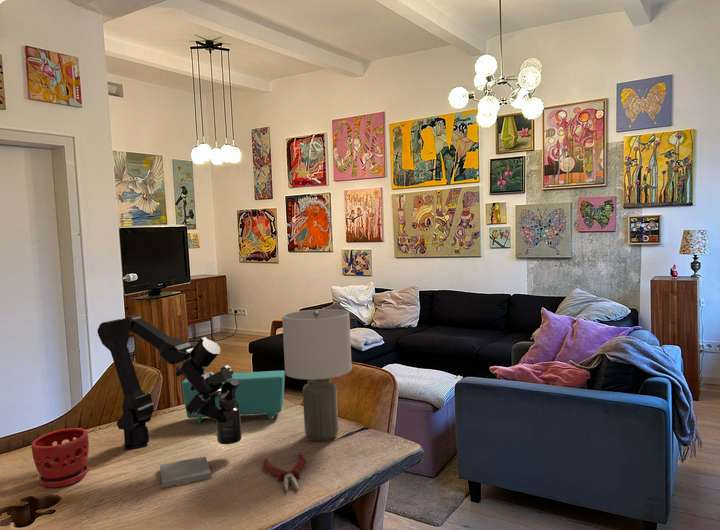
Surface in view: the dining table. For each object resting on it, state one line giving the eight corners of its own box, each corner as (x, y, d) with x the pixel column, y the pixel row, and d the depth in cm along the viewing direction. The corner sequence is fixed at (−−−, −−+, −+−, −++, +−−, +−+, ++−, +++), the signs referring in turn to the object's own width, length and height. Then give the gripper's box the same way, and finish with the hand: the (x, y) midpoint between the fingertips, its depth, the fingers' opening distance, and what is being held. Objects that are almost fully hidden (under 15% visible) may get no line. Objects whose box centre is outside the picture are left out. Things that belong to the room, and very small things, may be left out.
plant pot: (53, 470, 153) (50, 428, 152) (100, 469, 152) (97, 426, 152) (23, 492, 140) (19, 446, 139) (74, 491, 139) (70, 444, 139)
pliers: (268, 499, 131) (268, 488, 131) (262, 466, 150) (261, 456, 150) (316, 492, 134) (315, 481, 134) (303, 460, 153) (303, 451, 153)
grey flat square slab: (162, 488, 138) (162, 482, 138) (160, 470, 150) (160, 464, 149) (211, 478, 143) (211, 472, 143) (205, 461, 154) (205, 456, 154)
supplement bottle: (246, 437, 158) (244, 396, 157) (231, 446, 152) (229, 403, 151) (227, 435, 161) (225, 394, 160) (212, 443, 155) (210, 401, 154)
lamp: (367, 437, 167) (362, 310, 164) (308, 455, 155) (302, 318, 153) (332, 420, 183) (327, 305, 181) (277, 435, 172) (270, 312, 170)
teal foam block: (287, 410, 197) (285, 369, 196) (284, 420, 186) (282, 376, 186) (191, 416, 195) (188, 374, 194) (183, 426, 185) (180, 382, 184)
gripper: (192, 366, 148) (229, 410, 145) (233, 351, 165) (266, 390, 162) (171, 393, 151) (206, 436, 148) (212, 375, 169) (244, 414, 165)
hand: (232, 418), depth 156 cm, fingers closed on supplement bottle, 7 cm apart
